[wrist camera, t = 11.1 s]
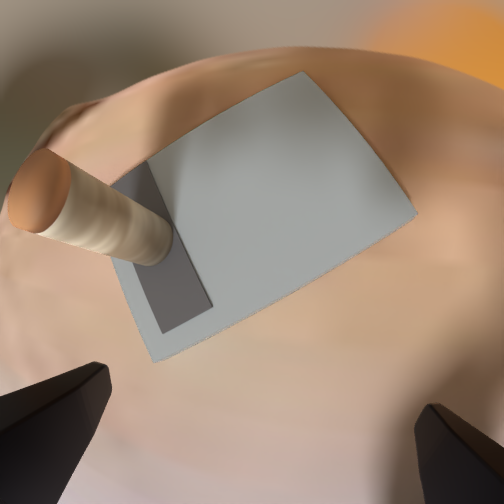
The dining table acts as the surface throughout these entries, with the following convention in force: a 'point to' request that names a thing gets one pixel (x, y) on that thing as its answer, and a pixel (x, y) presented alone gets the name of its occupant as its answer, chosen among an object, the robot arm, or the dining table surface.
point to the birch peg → (84, 211)
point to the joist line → (165, 260)
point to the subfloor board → (266, 206)
